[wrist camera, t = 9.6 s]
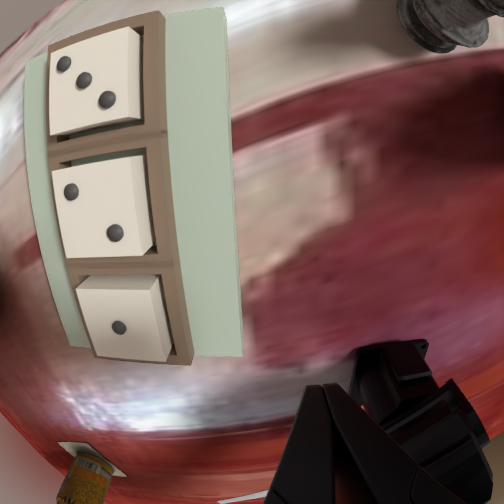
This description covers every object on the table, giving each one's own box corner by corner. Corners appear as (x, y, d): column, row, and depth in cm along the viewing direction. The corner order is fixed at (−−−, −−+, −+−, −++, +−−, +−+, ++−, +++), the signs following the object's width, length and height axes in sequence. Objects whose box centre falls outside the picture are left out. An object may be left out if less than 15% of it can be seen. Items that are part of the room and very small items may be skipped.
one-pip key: (174, 338, 20) (165, 364, 17) (110, 335, 20) (96, 357, 18) (162, 271, 18) (148, 291, 16) (93, 272, 18) (73, 290, 16)
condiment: (95, 473, 33) (73, 531, 22) (57, 441, 30) (27, 501, 19) (127, 475, 32) (107, 541, 20) (88, 441, 29) (57, 512, 18)
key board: (243, 339, 22) (241, 369, 19) (81, 332, 23) (62, 355, 19) (226, 19, 15) (220, -4, 11) (41, 65, 15) (13, 59, 12)
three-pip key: (146, 119, 15) (126, 116, 13) (73, 134, 15) (48, 135, 13) (145, 39, 13) (127, 25, 11) (73, 60, 14) (49, 52, 11)
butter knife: (305, 489, 31) (295, 484, 30) (164, 511, 37) (151, 506, 36) (305, 486, 31) (295, 480, 30) (164, 509, 37) (152, 503, 36)
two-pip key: (157, 240, 17) (141, 257, 15) (86, 243, 18) (64, 259, 15) (147, 154, 16) (128, 157, 13) (75, 166, 16) (49, 171, 13)
